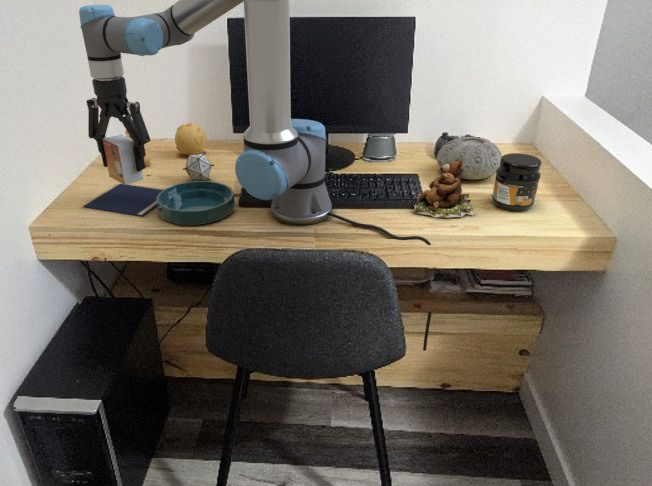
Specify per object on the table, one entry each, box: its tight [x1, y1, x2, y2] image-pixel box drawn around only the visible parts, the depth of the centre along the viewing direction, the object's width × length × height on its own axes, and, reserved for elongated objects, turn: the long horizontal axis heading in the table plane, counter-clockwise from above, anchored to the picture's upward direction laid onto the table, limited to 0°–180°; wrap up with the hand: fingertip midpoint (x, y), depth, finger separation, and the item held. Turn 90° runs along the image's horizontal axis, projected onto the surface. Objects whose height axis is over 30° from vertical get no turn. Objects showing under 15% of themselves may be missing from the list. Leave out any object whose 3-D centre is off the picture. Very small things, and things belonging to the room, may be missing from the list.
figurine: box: [124, 129, 151, 167], centre depth 166 cm, size 8×6×12 cm
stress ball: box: [174, 122, 207, 156], centre depth 174 cm, size 10×10×10 cm
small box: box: [102, 133, 144, 185], centre depth 141 cm, size 8×6×10 cm
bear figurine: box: [413, 159, 475, 219], centre depth 137 cm, size 14×15×12 cm
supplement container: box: [491, 152, 542, 212], centre depth 139 cm, size 10×10×12 cm
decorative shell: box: [436, 135, 503, 180], centre depth 158 cm, size 18×18×10 cm
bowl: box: [156, 180, 236, 226], centre depth 140 cm, size 19×19×4 cm
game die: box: [182, 150, 215, 182], centre depth 156 cm, size 9×8×10 cm
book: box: [82, 183, 164, 218], centre depth 147 cm, size 18×16×1 cm
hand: (124, 167), depth 142 cm, fingers closed on small box, 9 cm apart
